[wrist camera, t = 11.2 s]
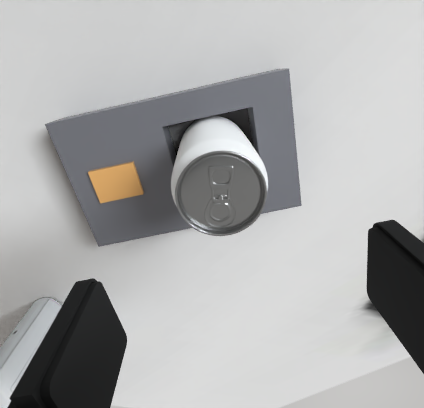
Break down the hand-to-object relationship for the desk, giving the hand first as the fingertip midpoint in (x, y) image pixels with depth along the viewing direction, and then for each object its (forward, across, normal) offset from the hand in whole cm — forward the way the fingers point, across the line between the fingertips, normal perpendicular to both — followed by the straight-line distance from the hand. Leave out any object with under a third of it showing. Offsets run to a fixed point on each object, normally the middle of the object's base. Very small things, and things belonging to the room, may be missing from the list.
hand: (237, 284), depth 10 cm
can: (+20, 0, 0) cm, 21 cm away
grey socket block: (+20, +3, +1) cm, 20 cm away
